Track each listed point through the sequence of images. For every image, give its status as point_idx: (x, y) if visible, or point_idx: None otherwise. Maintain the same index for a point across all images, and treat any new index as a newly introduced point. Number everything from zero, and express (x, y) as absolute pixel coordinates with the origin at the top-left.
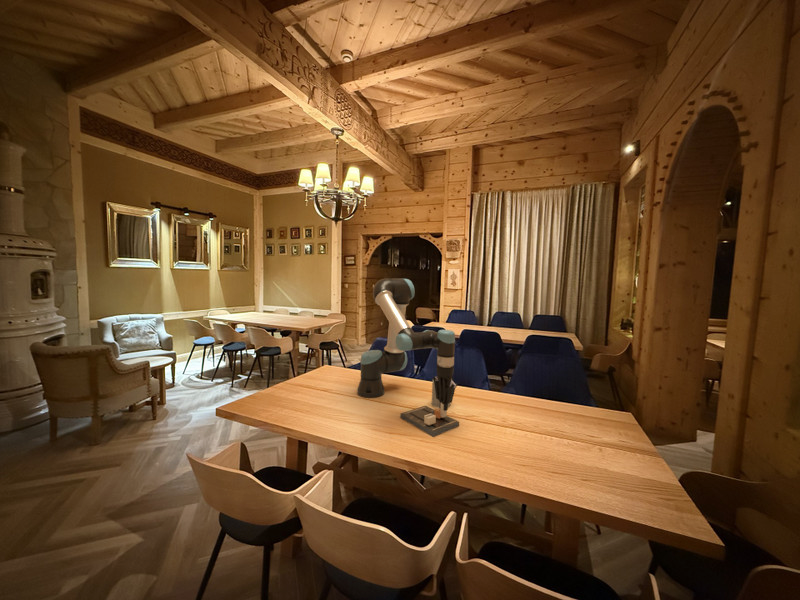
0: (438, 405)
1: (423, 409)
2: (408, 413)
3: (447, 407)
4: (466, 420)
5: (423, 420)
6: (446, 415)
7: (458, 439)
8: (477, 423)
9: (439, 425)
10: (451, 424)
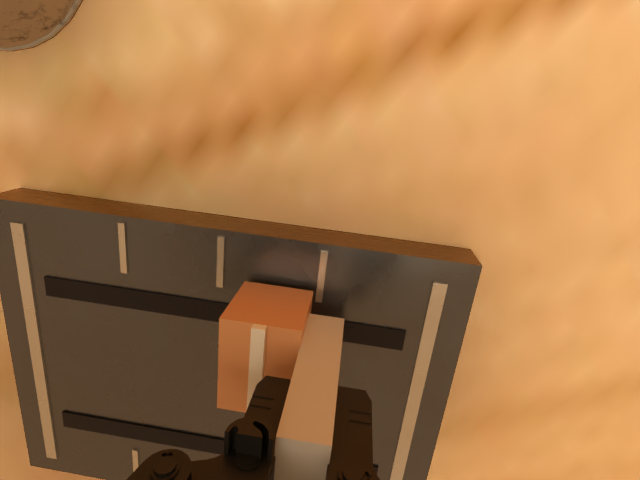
0: (25, 33)
1: (59, 293)
2: (61, 430)
3: (371, 429)
4: (463, 74)
5: None
6: (343, 325)
7: (576, 429)
8: (605, 39)
9: (378, 436)
10: (448, 359)
